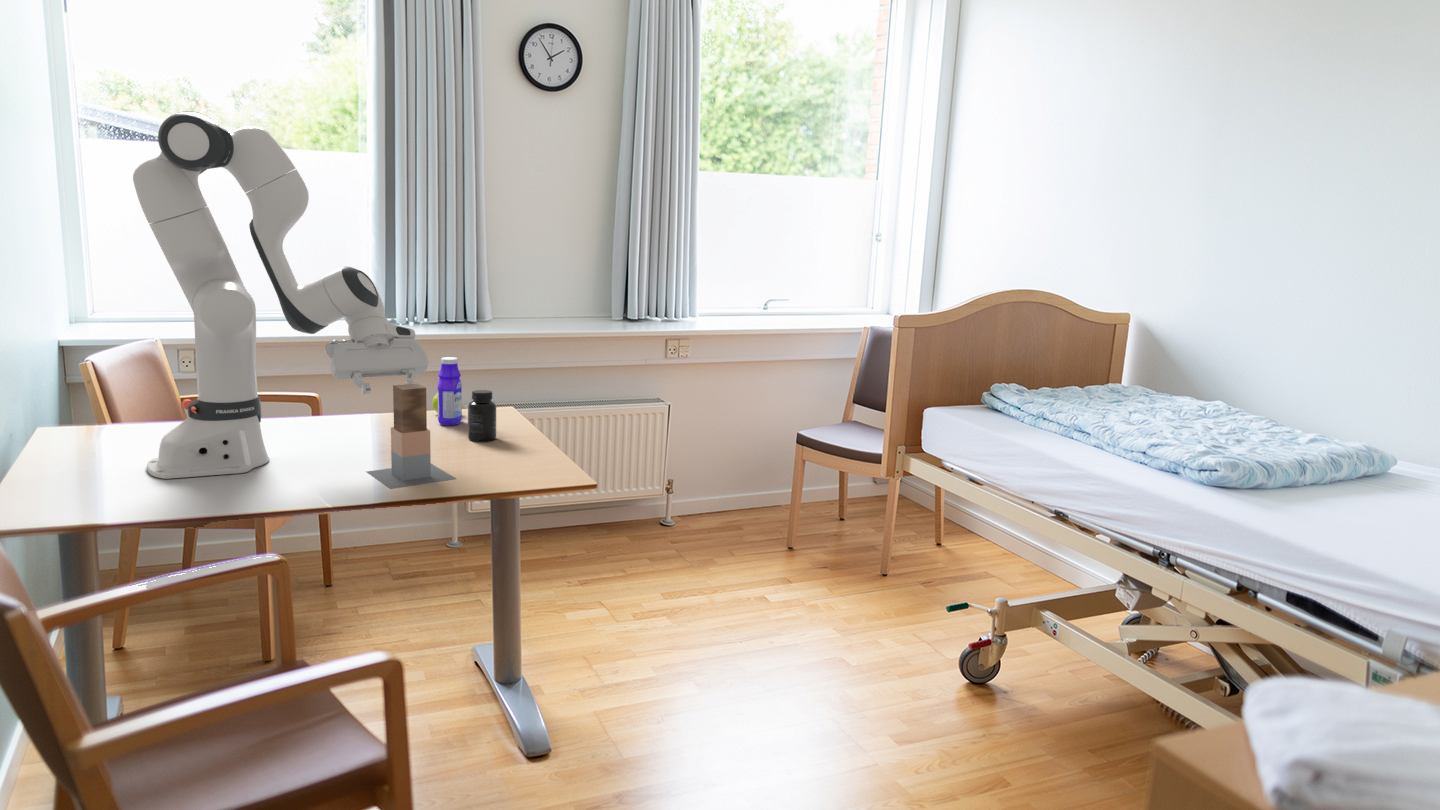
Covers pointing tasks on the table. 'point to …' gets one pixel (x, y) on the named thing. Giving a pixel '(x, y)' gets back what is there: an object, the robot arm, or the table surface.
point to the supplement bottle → (482, 417)
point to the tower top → (410, 442)
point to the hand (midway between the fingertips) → (389, 390)
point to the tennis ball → (435, 402)
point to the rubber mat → (394, 482)
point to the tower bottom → (411, 466)
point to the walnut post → (409, 408)
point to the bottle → (449, 392)
